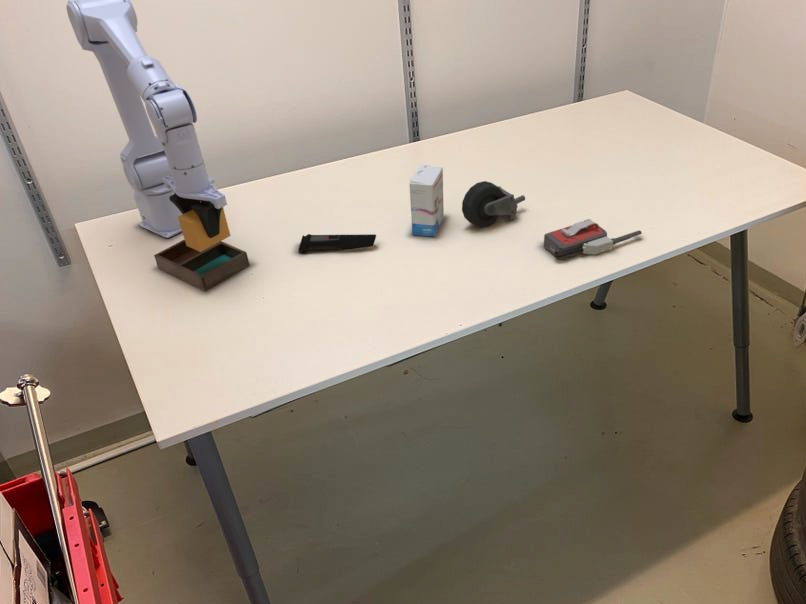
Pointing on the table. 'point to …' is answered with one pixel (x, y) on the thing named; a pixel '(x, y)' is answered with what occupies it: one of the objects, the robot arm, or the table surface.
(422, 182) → the ink box
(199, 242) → the carton
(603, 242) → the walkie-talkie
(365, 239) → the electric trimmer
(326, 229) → the table surface
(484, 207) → the caster wheel
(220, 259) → the organizer
